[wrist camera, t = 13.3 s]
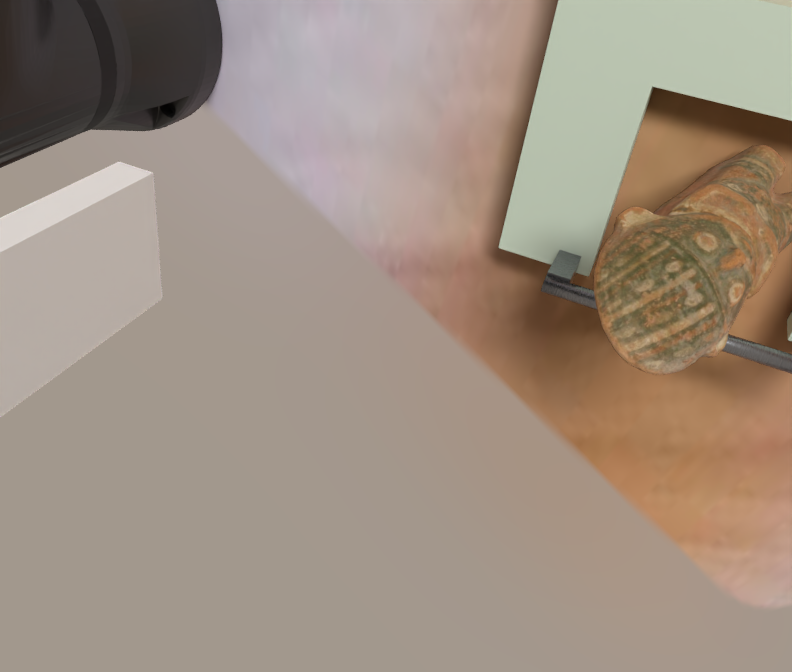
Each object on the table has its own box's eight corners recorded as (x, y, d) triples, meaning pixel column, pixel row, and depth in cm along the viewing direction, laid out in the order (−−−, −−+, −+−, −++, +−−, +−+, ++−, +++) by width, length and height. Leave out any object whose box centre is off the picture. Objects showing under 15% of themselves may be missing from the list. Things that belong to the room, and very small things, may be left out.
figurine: (825, 204, 41) (844, 342, 29) (696, 279, 46) (670, 422, 35) (731, 87, 40) (714, 183, 28) (610, 177, 45) (554, 290, 34)
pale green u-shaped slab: (508, 233, 50) (498, 248, 48) (577, -45, 40) (568, -40, 38) (892, 352, 44) (897, 375, 42) (1088, 61, 34) (1106, 73, 32)
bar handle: (554, 268, 47) (539, 297, 44) (559, 249, 46) (544, 277, 43) (825, 355, 43) (829, 393, 40) (836, 336, 42) (841, 373, 39)
